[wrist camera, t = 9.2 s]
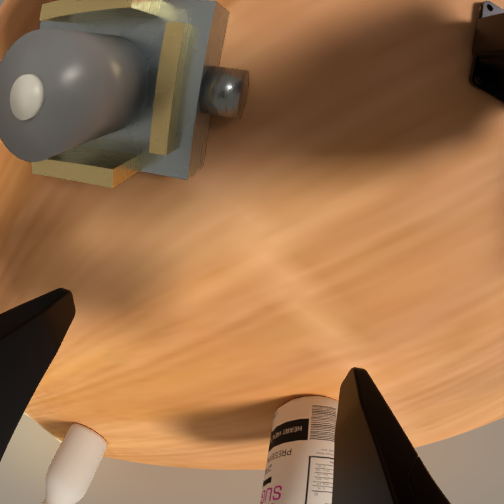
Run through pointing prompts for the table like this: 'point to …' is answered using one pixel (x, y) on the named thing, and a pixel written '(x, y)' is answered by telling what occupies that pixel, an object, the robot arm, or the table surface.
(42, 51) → the grey rounded piece
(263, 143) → the table surface
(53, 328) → the robot arm
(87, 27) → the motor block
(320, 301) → the table surface
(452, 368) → the table surface
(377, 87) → the table surface
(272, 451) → the supplement can
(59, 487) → the milk bottle
